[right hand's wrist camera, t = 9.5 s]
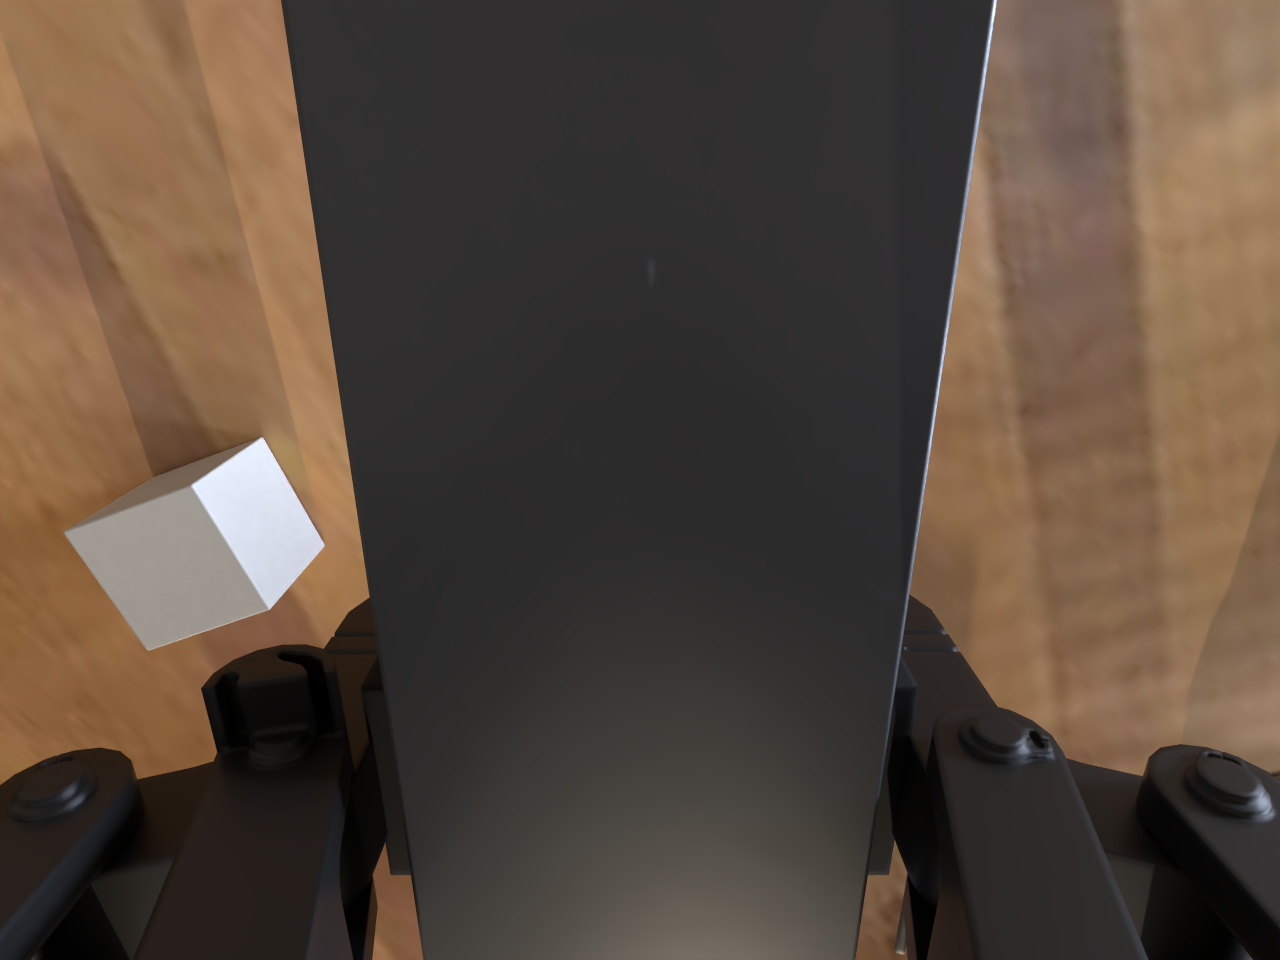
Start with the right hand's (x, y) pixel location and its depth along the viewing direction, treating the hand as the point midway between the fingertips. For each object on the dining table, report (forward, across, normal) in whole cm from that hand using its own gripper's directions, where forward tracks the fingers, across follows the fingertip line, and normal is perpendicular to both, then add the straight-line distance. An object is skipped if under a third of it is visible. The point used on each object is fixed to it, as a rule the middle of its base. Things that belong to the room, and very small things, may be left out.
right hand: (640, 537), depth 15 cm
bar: (0, 0, -9) cm, 9 cm away
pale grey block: (+15, +16, +6) cm, 22 cm away
